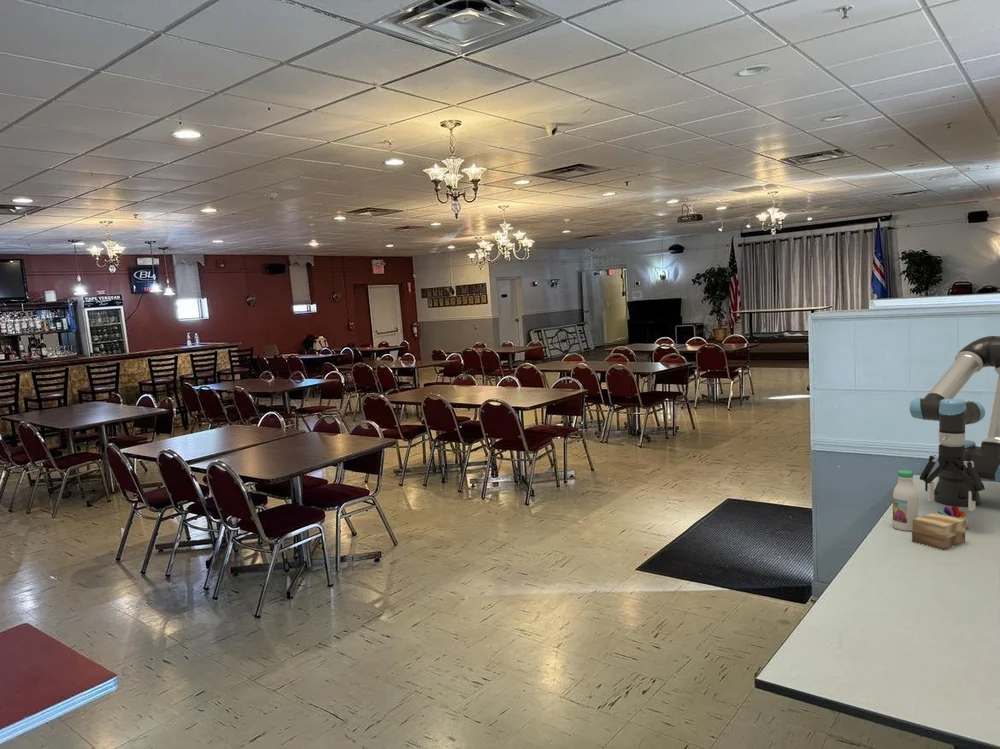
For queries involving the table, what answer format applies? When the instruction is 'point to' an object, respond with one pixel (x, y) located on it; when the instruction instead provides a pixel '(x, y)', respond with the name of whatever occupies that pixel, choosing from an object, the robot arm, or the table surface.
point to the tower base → (938, 540)
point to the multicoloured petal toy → (953, 512)
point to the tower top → (939, 525)
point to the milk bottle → (905, 502)
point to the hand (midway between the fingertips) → (950, 505)
